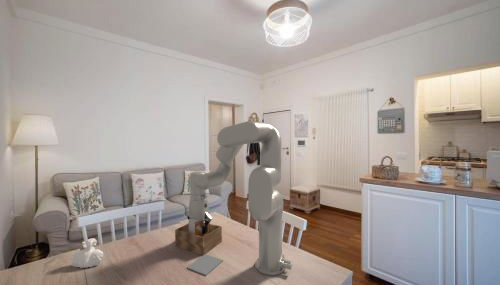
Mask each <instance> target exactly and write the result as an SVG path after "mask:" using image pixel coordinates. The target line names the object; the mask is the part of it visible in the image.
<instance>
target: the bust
mask: <svg viewBox="0 0 500 285" xmlns="http://www.w3.org/2000/svg"><path fill="white" fill-rule="evenodd" d="M81 243H82V248H83V250H79V251H78V252H75V253H73V255H72V256H71V265H72V267H74V268H78V267H80V268H79V269H85V268H87V269H88V267H90V268H92V267H94V266H98V265H100V264H101V261H102V259H103V257H104V252H103V251H102V250H100V249H97V248H95V247H94V246H97V243H98V240H97V239H96V238H94V237H93V238H89V239H86V240H84V241H82V242H81Z"/></svg>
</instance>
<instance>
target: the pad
mask: <svg viewBox="0 0 500 285" xmlns="http://www.w3.org/2000/svg"><path fill="white" fill-rule="evenodd" d="M223 261H224V260H223V259H221V258H218V257H215V256H212V255H209V254H207V253H206V254H204V255H201V256H200V257H199V258H198V259H196V260H195V261H194V262H192V263H191V264H189V265H188V266H187V267H186V268H187V270H189V271H193V272H195V273H198V274H200V275H203V276H205V277H206V276H208V275H209V274H210V273H212V272H213V271H214V270H215V269H216V268H217V267H218V266H219V265H220V264H222V263H223Z"/></svg>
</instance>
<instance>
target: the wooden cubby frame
mask: <svg viewBox="0 0 500 285" xmlns="http://www.w3.org/2000/svg"><path fill="white" fill-rule="evenodd" d="M222 228H223V227H222V226H221V225H217V224H213V223H211V222H210V223H209V234H207V235H205V236H204V237H201V236H198V235H194V234H191V233H189V222H188V223H186V224H185V225H183V226H180V227H178V228H175V229H174V237H175V238H174V239H175V240H174V241H175V247H177V248H180V249H183V250H187V251H189V252H193V253H195V254H198V255H201V256H203V255H204V254H206V255H207V254H208V253H209V252H210V251H212V250H213V249H214V248H215V247H217V246H218V245H219V244H221V243H222V242H223V236H222V234H223V229H222Z"/></svg>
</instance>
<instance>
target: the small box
mask: <svg viewBox="0 0 500 285" xmlns="http://www.w3.org/2000/svg"><path fill="white" fill-rule="evenodd" d="M207 220H208V218H207ZM204 222H205V220H204ZM188 223H189V233H191V234H194V235H198V236H201V237H204V236H205V235H207V234H209V224H208V232H207V233H205V234H202V226H203V224H202V221H200V220H196V219H191V218H190V219H189V220H188Z"/></svg>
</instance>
